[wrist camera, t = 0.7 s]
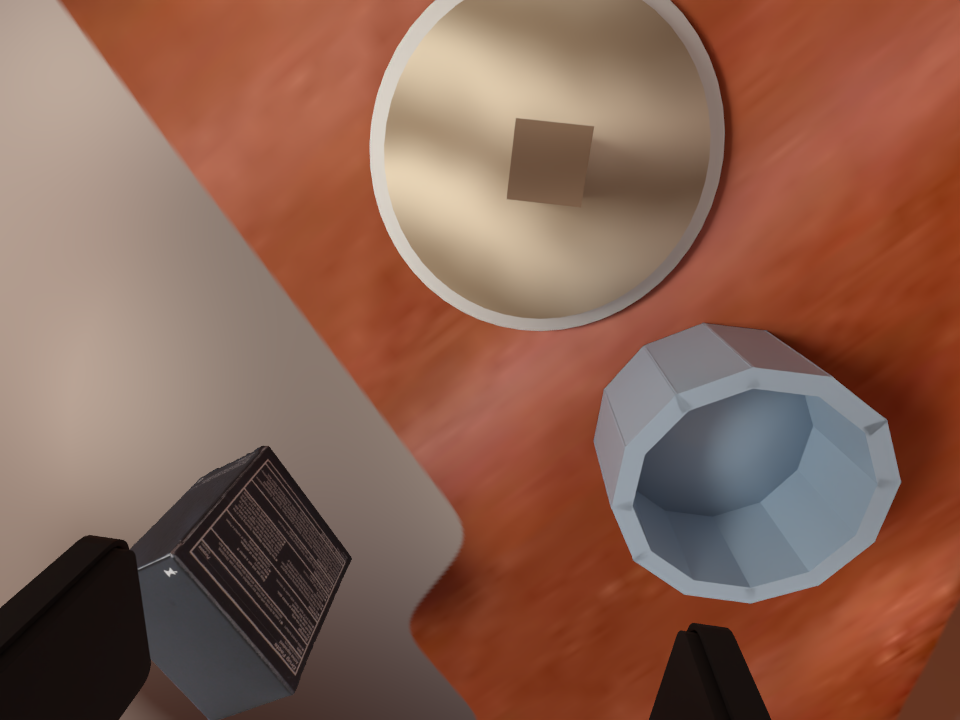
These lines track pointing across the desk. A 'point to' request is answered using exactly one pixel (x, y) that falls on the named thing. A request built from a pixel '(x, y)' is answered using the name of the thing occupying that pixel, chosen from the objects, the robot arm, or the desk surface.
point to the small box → (238, 585)
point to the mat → (701, 59)
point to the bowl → (741, 464)
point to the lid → (546, 151)
